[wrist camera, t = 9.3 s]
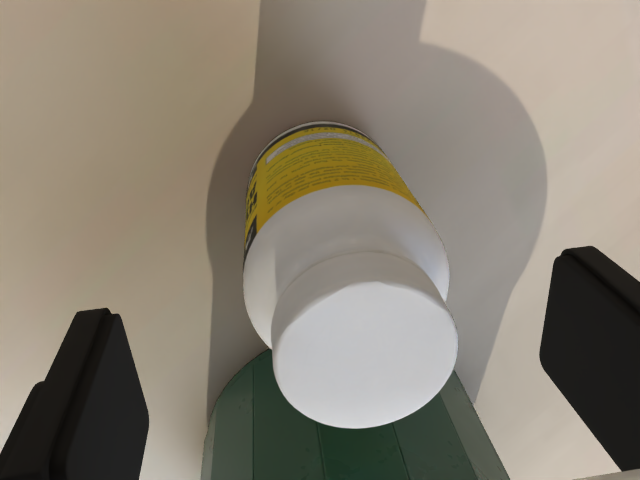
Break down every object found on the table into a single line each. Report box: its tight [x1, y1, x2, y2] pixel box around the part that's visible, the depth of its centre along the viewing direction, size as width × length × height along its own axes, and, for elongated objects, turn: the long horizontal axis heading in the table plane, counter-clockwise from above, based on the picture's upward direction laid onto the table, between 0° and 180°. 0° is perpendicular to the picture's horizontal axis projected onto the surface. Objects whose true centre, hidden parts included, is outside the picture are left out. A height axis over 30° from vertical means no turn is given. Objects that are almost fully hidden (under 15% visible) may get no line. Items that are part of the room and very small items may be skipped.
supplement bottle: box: [243, 121, 458, 429], centre depth 16 cm, size 5×5×10 cm
